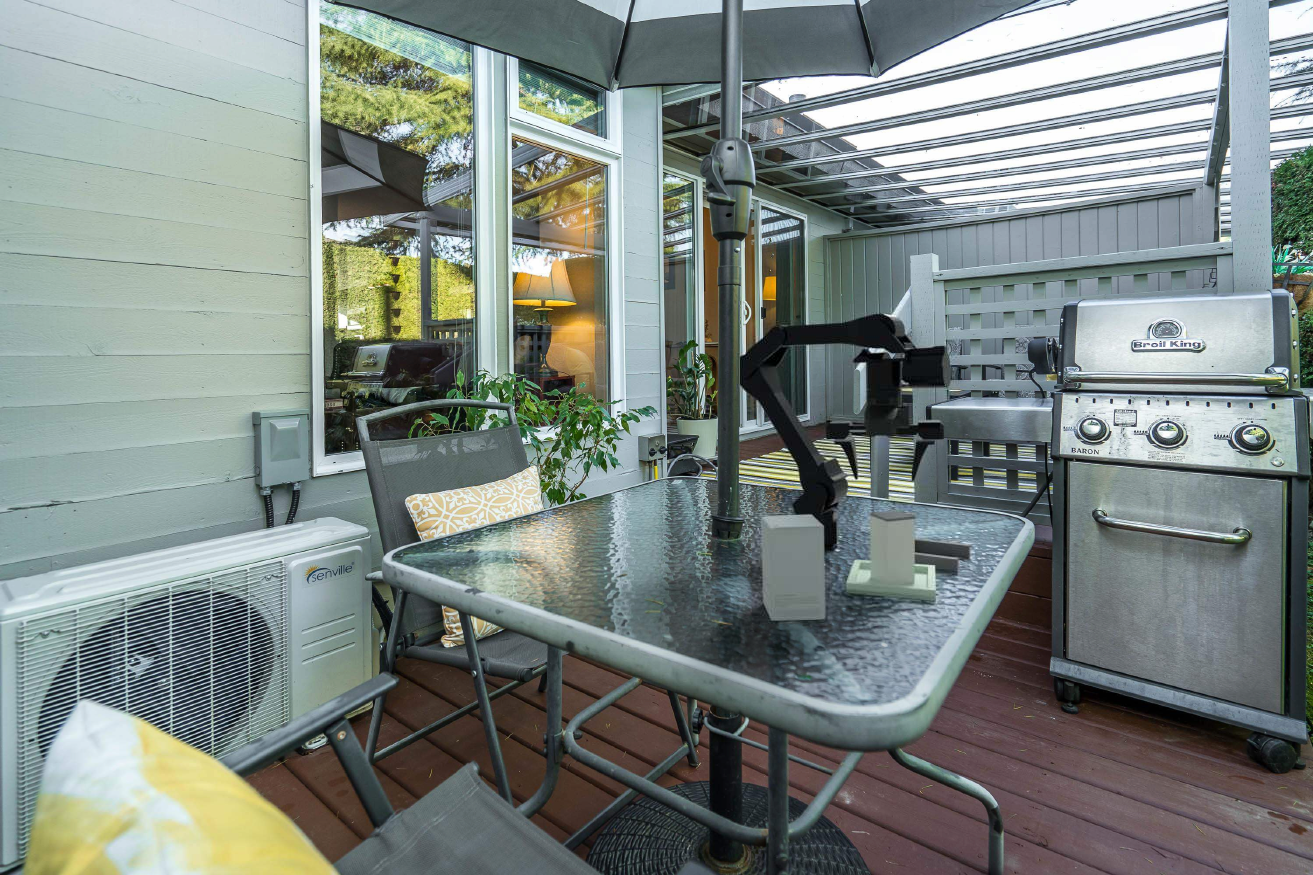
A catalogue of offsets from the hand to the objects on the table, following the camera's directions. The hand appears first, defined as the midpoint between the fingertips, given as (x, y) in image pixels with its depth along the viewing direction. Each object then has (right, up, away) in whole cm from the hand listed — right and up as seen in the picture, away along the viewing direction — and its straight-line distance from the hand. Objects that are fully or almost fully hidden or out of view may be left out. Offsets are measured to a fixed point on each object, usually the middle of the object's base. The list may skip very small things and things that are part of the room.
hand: (884, 479), depth 113 cm
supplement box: (-20, -17, -23) cm, 35 cm away
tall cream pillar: (-4, -14, -14) cm, 20 cm away
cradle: (+7, -13, -3) cm, 15 cm away
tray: (-4, -15, -14) cm, 21 cm away
